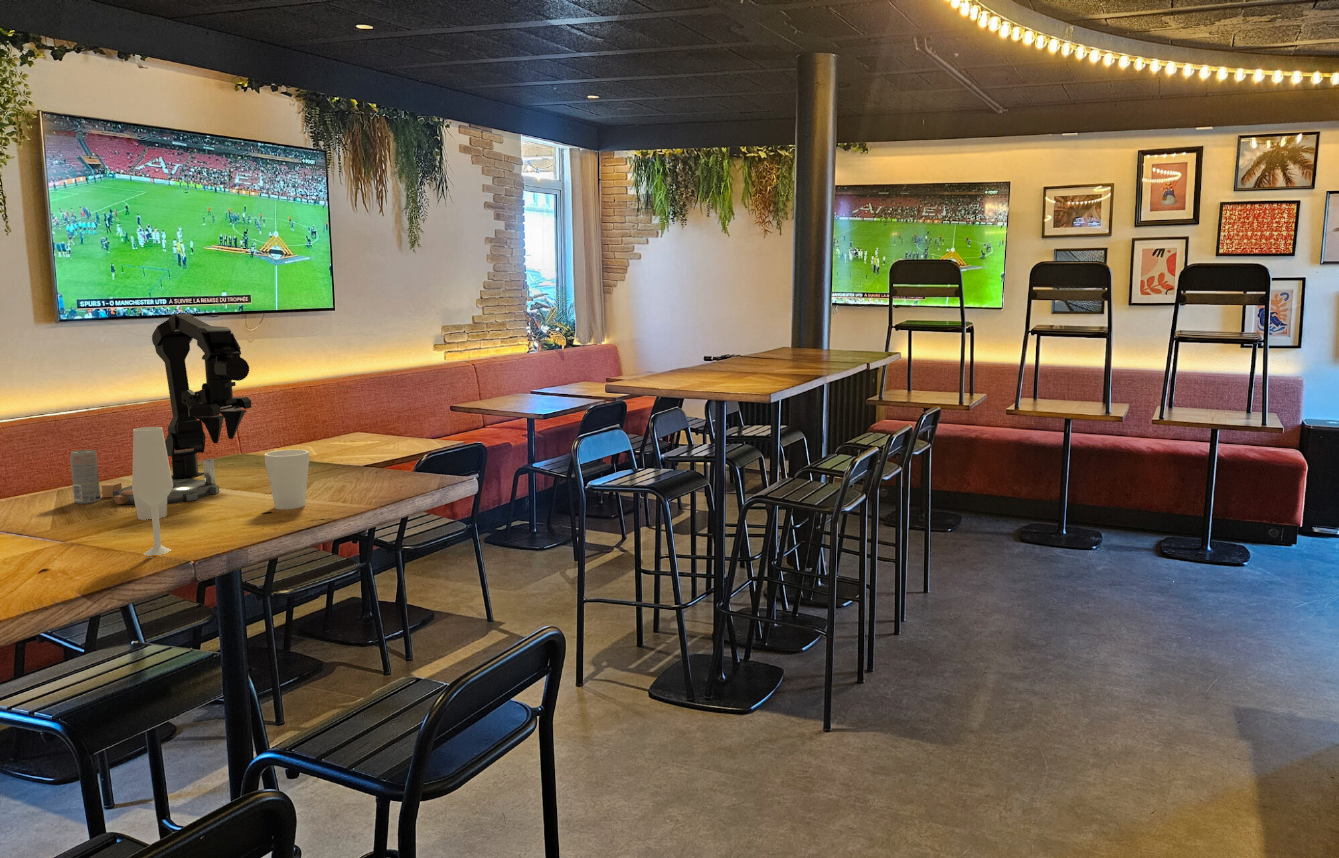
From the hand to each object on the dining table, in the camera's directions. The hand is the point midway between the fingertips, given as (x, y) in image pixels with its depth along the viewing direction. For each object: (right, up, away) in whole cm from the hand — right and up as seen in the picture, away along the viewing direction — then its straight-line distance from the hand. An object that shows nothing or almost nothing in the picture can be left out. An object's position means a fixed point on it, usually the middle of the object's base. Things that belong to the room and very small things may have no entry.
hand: (223, 441), depth 241 cm
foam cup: (+25, -15, -22) cm, 37 cm away
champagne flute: (+15, -21, -60) cm, 65 cm away
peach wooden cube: (-24, -13, -7) cm, 28 cm away
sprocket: (-10, -13, -8) cm, 19 cm away
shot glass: (-2, -17, -30) cm, 34 cm away
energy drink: (-26, -14, -13) cm, 32 cm away
